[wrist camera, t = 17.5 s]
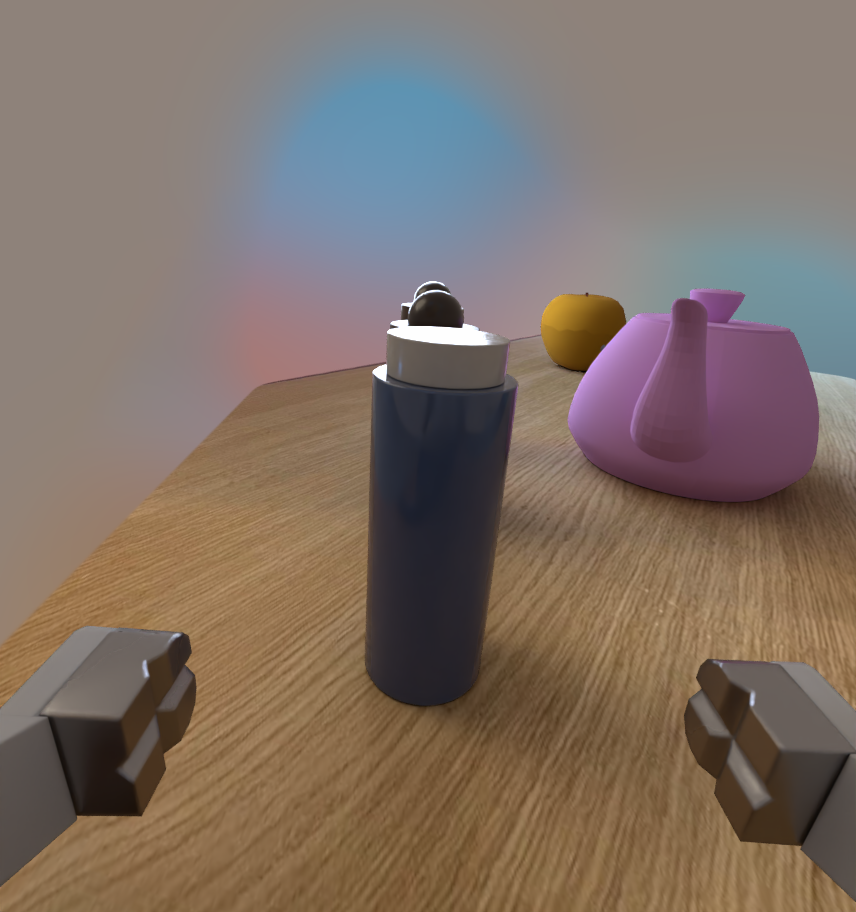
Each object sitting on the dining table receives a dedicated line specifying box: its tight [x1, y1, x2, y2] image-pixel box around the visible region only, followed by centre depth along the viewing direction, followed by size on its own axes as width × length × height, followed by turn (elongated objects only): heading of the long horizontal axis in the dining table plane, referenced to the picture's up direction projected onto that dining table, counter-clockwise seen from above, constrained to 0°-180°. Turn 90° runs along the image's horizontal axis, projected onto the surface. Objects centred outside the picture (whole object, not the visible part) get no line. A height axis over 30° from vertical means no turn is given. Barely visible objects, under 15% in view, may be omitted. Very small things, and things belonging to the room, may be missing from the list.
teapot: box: [568, 289, 819, 502], centre depth 38 cm, size 25×18×14 cm
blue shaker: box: [365, 327, 518, 706], centre depth 17 cm, size 4×4×12 cm
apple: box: [541, 293, 626, 371], centre depth 78 cm, size 13×13×11 cm
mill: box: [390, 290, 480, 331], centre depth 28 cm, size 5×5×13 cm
